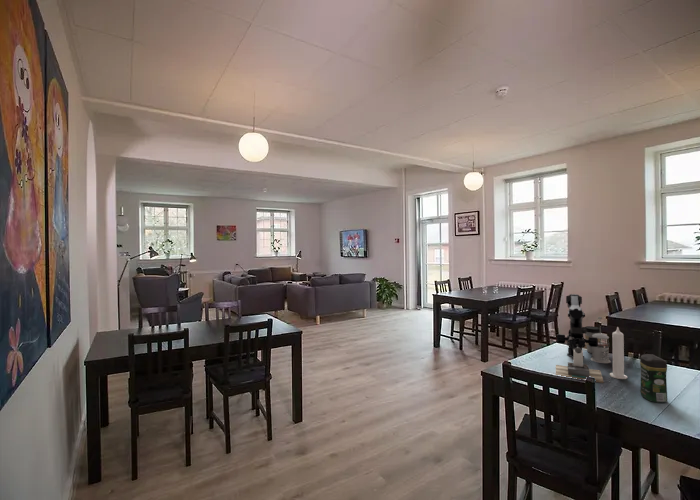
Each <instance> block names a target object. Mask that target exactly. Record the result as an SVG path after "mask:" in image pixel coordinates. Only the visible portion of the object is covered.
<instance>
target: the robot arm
mask: <svg viewBox="0 0 700 500" xmlns="http://www.w3.org/2000/svg"><path fill="white" fill-rule="evenodd" d="M582 298H583V297H582V296H581V295H579V294H576V293H569V295H566V296H565V304H567V308H568V310H567V317H568V319H569V328H570V329H569V330H568V335H566V334H561V333H558V334H556V343H557V344H562V345H564V344H565V343H566V346H567V353H566V355H567V356H570V357H572V358H573V357H574V349H575V348H576V347H579V348H581V349H582V350H583V348H585V347H586V343H589V346H591V347H597V346H598V339H597V338H596V337H589V339H585V336H584V335H585V334H586V333H587V331H586V326H583V319H585V317H586V313H585V312H584V311H583V308H582V306H581V305H582V304H583V299H582ZM583 358H585V356H584V355H583Z"/></svg>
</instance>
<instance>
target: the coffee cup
mask: <svg viewBox="0 0 700 500" xmlns="http://www.w3.org/2000/svg"><path fill="white" fill-rule="evenodd" d="M585 327H586V331H587V333H586V334H584V339H589V337H592V335H593V334H598V333H601V334H602V332H603V331H602V329H601V327H597V326H591V325H590V326H585ZM597 339H598V338H597ZM598 342H600V339H598ZM585 346H586V351H587V353H589V354H592V347H591V346H589V343H585ZM598 348H599V347H598Z"/></svg>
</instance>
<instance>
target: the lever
mask: <svg viewBox="0 0 700 500" xmlns="http://www.w3.org/2000/svg"><path fill="white" fill-rule="evenodd" d="M583 356H584V350H583V348H582V349H581V348H579V347H576V348H575V349H574V357H572V358H573V360H572V361H573V362H572V363H573V364H574V366H581V367H583V364H584V357H583Z"/></svg>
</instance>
